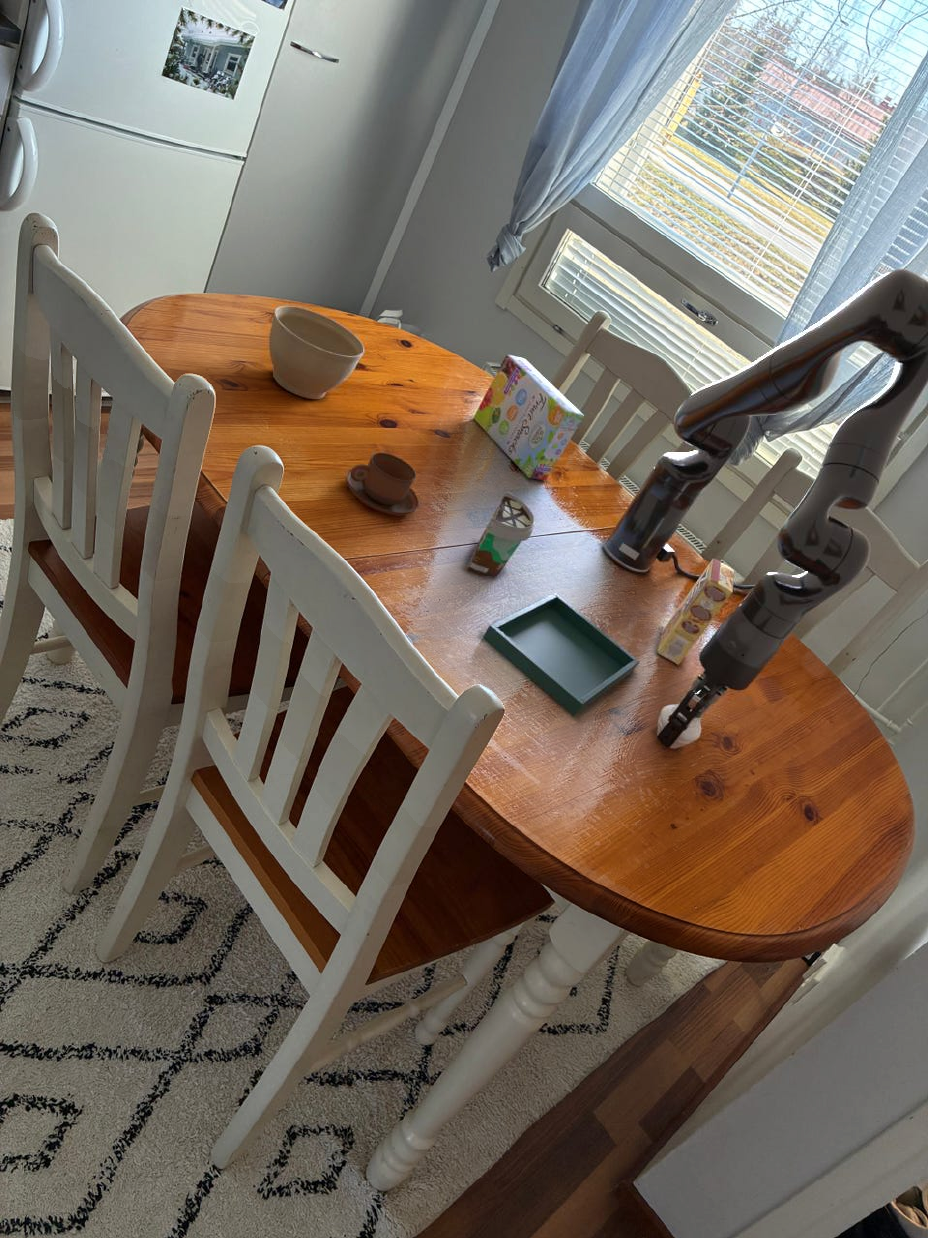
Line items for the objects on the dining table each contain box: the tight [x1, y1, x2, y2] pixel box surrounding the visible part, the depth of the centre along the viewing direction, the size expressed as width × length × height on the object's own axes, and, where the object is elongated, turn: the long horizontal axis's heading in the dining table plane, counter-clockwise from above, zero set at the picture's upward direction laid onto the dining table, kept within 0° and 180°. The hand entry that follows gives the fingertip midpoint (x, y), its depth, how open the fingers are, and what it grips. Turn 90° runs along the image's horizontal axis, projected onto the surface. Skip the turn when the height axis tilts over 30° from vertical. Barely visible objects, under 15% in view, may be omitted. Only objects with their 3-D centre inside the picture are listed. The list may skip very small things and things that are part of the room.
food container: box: [466, 490, 535, 578], centre depth 144 cm, size 12×6×10 cm, turn 168°
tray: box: [482, 592, 641, 717], centre depth 134 cm, size 20×17×2 cm
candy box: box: [657, 558, 735, 666], centre depth 148 cm, size 9×4×15 cm, turn 162°
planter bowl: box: [268, 305, 365, 400], centre depth 163 cm, size 16×16×11 cm
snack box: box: [473, 354, 585, 481], centre depth 183 cm, size 21×6×15 cm, turn 34°
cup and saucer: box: [346, 452, 420, 517], centre depth 145 cm, size 12×12×6 cm
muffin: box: [656, 703, 703, 749], centre depth 129 cm, size 6×6×7 cm
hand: (672, 733), depth 130 cm, fingers closed on muffin, 6 cm apart
